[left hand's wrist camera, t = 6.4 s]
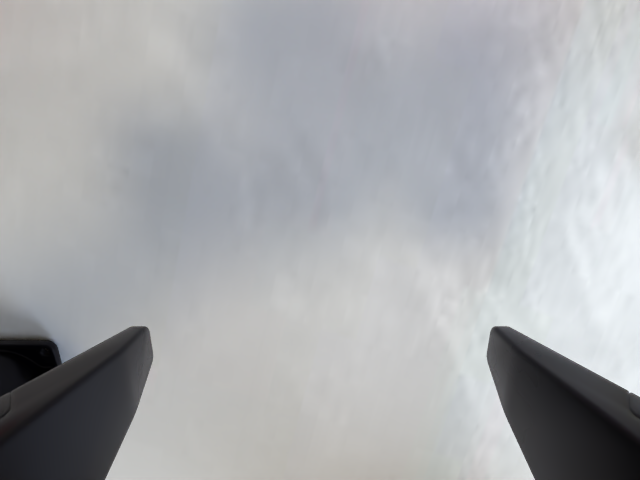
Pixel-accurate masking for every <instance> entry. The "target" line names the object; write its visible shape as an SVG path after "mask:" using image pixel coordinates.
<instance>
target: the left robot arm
mask: <svg viewBox="0 0 640 480" xmlns="http://www.w3.org/2000/svg"><path fill="white" fill-rule="evenodd" d="M45 348H46V349H48V350H49V351H47V350H46V349H45ZM152 361H153V350H152V344H151V338H150V332H149V329H148V328H147V327H145V326H133V327H130V328H128V329H126V330H124V331H122V332H120V333H118V334H117V335H115V336H113V337H111V338H109V339H107V340H105V341H104V342H102V343H100V344H98V345H96V346H94V347H92V348H91V349H89V350H87V351H85V352H83V353H81V354H79V355H78V356H76V357H74V358H72V359H70V360H68V361H66V362H65V363H63V364H62V363H61V359H60V355H59V351H58V347H57V345H56V344H55V343H53V342H51V341H40V340H0V480H105V478H106V476H107V474H108V472H109V470H110V468H111V465H112V463H113V461H114V459H115V457H116V454H117V452H118V450H119V448H120V446H121V444H122V441H123V439H124V437H125V435H126V433H127V431H128V428H129V426H130V424H131V422H132V420H133V417H134V415H135V413H136V410H137V407H138V404H139V401H140V398H141V395H142V392H143V389H144V386H145V383H146V380H147V377H148V374H149V371H150V368H151V365H152ZM487 361H488V365H489V368H490V371H491V374H492V377H493V380H494V383H495V386H496V389H497V392H498V395H499V398H500V401H501V404H502V407H503V410H504V413H505V415H506V417H507V420H508V422H509V424H510V426H511V428H512V431H513V433H514V435H515V437H516V439H517V441H518V444H519V446H520V448H521V450H522V452H523V454H524V457H525V459H526V461H527V463H528V465H529V468H530V470H531V472H532V474H533V476H534V478H535V480H640V397H639V396H637V395H635V394H633V393H629V391H627V390H626V389H624V388H622V387H620V386H618V385H616V384H614V383H613V382H611V381H609V380H607V379H605V378H603V377H601V376H600V375H598V374H596V373H594V372H592V371H590V370H588V369H587V368H585V367H583V366H581V365H579V364H577V363H575V362H574V361H572V360H570V359H568V358H566V357H564V356H562V355H561V354H559V353H557V352H555V351H553V350H551V349H549V348H548V347H546V346H544V345H542V344H540V343H538V342H536V341H535V340H533V339H531V338H529V337H527V336H525V335H523V334H522V333H520V332H518V331H516V330H514V329H512V328H510V327H507V326H495V327H493V328H492V329H491V332H490V338H489V344H488V350H487Z"/></svg>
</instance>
